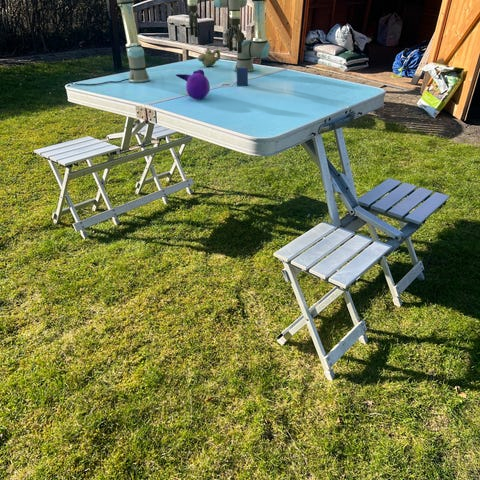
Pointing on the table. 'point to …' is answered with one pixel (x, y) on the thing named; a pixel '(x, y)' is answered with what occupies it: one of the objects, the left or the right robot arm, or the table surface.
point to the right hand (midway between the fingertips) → (235, 52)
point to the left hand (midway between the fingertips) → (194, 36)
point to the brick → (242, 76)
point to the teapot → (209, 57)
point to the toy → (196, 84)
